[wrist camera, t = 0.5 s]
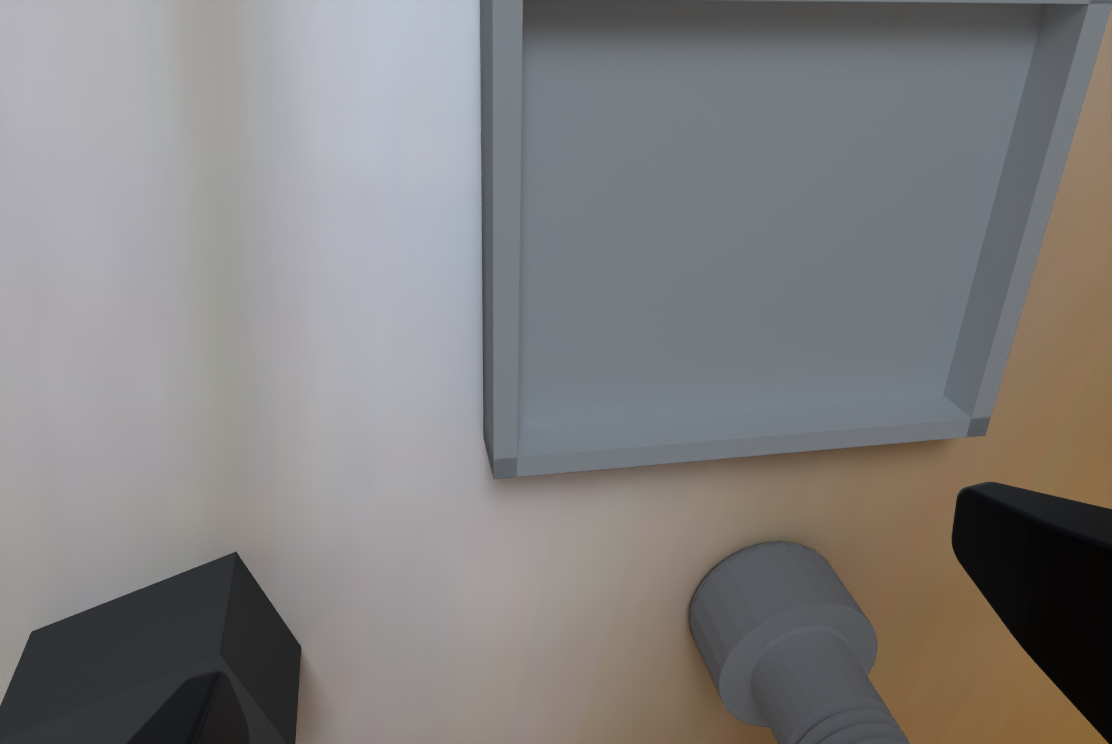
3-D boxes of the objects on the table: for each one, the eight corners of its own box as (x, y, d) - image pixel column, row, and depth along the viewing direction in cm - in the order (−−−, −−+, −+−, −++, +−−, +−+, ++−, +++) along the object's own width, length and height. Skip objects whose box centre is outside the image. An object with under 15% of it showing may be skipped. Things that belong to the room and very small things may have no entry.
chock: (112, 717, 27) (78, 839, 24) (32, 628, 25) (-17, 747, 22) (301, 643, 27) (294, 754, 24) (236, 548, 25) (219, 654, 22)
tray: (483, 437, 25) (493, 479, 23) (479, -44, 19) (492, -36, 18) (945, 400, 28) (985, 435, 26) (1059, -33, 22) (1120, -25, 20)
